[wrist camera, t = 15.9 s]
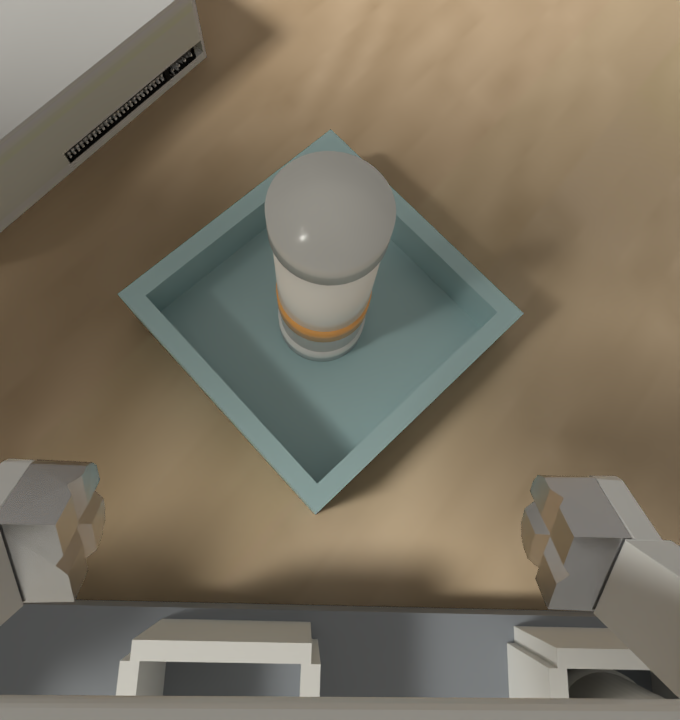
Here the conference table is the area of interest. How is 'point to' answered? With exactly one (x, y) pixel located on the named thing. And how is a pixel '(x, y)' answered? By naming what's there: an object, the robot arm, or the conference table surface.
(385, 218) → the marked fuse
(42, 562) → the robot arm
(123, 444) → the conference table surface
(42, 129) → the disc drive
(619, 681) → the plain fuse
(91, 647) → the fuse holder
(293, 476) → the tray
